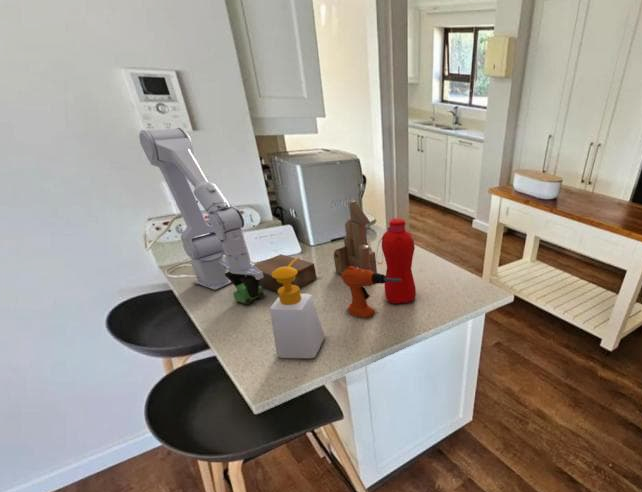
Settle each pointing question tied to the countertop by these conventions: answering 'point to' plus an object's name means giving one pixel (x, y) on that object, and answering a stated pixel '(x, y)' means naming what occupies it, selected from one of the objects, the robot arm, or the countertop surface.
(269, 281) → the wooden box
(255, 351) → the countertop surface
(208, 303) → the countertop surface
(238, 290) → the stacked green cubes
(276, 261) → the lid
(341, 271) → the wooden toy
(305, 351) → the soap bottle
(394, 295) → the water bottle
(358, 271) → the toy drill
